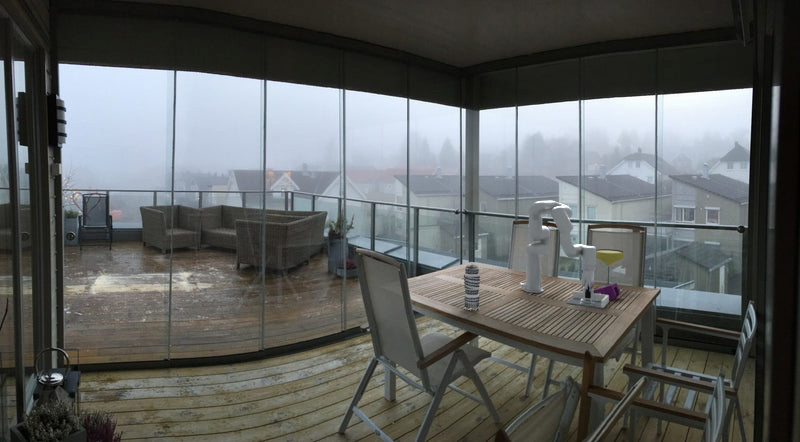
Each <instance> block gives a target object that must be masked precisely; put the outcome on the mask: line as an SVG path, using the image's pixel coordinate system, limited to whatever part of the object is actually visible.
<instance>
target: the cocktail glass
mask: <svg viewBox="0 0 800 442" xmlns="http://www.w3.org/2000/svg"><path fill="white" fill-rule="evenodd" d="M624 257H625V252H624V251H623V250H620V249H619V250H618V249H610V248H609V249H608V248H607V249H606V248H605V249H603V248H599V249H596V260H599V261H601V262H603V263H605V265H606V266H607V283H606V286H607V285H610V267H611V266H612V265H613V264H615V263H617V262H619V261H621V260H623V259H624ZM604 286H605V285H600V286H599V287H598V288H601V287H604Z"/></svg>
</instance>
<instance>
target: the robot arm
mask: <svg viewBox="0 0 800 442" xmlns="http://www.w3.org/2000/svg"><path fill="white" fill-rule="evenodd" d="M550 214H551V217H552V219H553V221H554V223H555V225H556V227H557V229H558V232H559V243H560V246H561V249H562V250H563V253H564V254H565V255H566V257H568V258H569V259H575V258H581V271H582V275H581V276H582V277H581V287H583V288H585V298H589V299H590V298H591V292H590V289H593V288H592V287H593V286H594V285H595V271H597V270H596V269H597V258H596V250H597V248H596V246H593V245H585V244H580V243H578V244H573V242H572V240H571V232H572V231H573V230H574V225H573V223H572V221H571V220H570V218H571V217H573V216H572V215H573V210H572V209H571V207H570V206H568V205H566V204H563V203H561V202H558V201H555V200H538V201H535V202H533V203H532V204H531V205H530V207H529V209H528V227H527V228H528V231H527V237H528V239H529V241H533V242H532V243H529V244H527V245H526V246H525V249H524V256H525V259H526V260H525V261H526V263H525V264H526V265H525V267H526V268H525V269H526V270H525V273H526V274H525V283H522V282H520V283H519V285H520V287H522V288H523V287H524V288H523V291H524V292H527V293H530V294H531V293H533V294H534V293H535V294H538V293H539V294H540V293H543V292H545V291H544V289H543V288H542V261H541V257H545V256H547V255H549V253H550V249H551V231H550V229H549V228H548V227H547V226H546V225H543V221H544V220H543V217H542V215H550Z"/></svg>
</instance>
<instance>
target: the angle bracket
mask: <svg viewBox="0 0 800 442" xmlns="http://www.w3.org/2000/svg"><path fill="white" fill-rule="evenodd" d="M594 290H595V289H594V288H592V289H590V292H591V298H590V299H589V298H585V287H583V288H582V292H583V297H582V299H581V300H580V302H587V303H592V302H593V301H594Z"/></svg>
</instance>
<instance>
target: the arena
mask: <svg viewBox="0 0 800 442" xmlns="http://www.w3.org/2000/svg"><path fill="white" fill-rule="evenodd" d="M572 292H573V293H572V298H570V299H569V301H567V302H566V304H567V305H573V306H580V307H586V308H594V309H601V310H602V309H603V310H604V309H605V307H606V306H607V305H608V304H609V302H610V301H609V295H602V294H601V293H596V294H594V301H593V302H592V303H587V302H580V300H581V299H582V297H583V291H579V290H573V291H572Z"/></svg>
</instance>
